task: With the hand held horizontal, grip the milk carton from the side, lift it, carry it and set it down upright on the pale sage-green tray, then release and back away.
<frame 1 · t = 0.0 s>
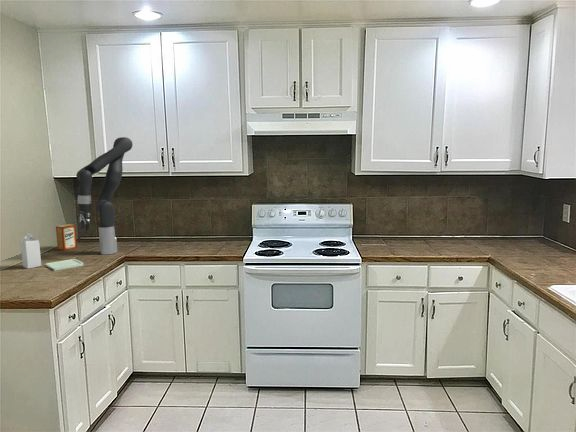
hand: (84, 229, 272), 17 cm above the worktop, tool pointing down, fingers open, 8 cm apart
baking soda box: (67, 248, 299), on the worktop
tray: (64, 265, 254), on the worktop
milk carton: (32, 267, 252), on the worktop
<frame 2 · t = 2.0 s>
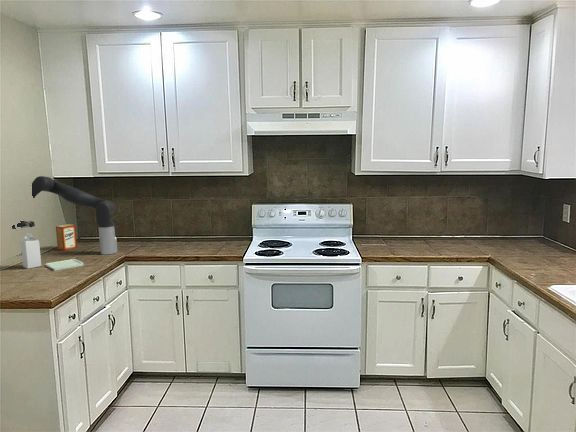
hand: (23, 226, 257), 22 cm above the worktop, tool horizontal, fingers open, 8 cm apart
nothing on the worktop moved.
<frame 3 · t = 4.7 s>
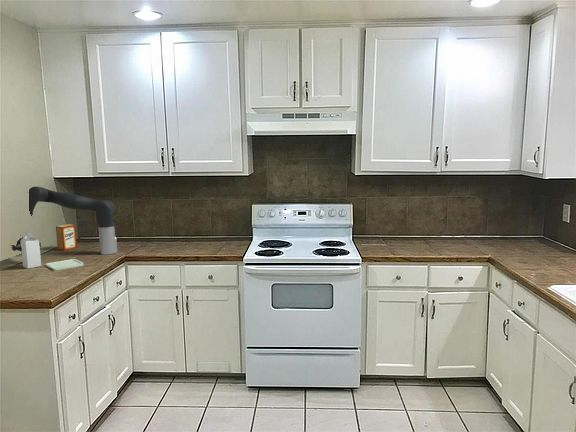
hand: (29, 248, 252), 10 cm above the worktop, tool horizontal, fingers open, 8 cm apart
milk carton: (32, 267, 252), on the worktop, touching gripper
everything else where it was.
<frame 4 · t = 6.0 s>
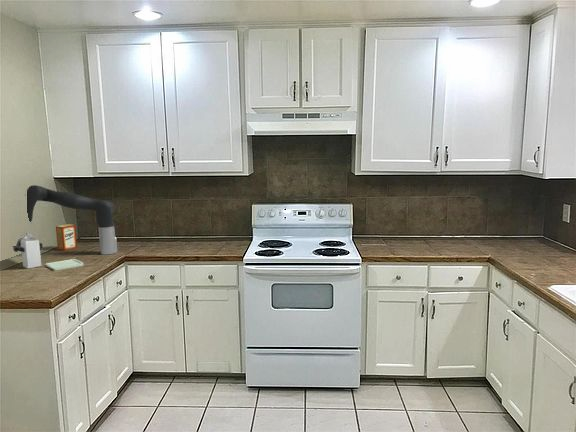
hand: (31, 249, 250), 11 cm above the worktop, tool horizontal, fingers closed on milk carton, 8 cm apart
milk carton: (32, 266, 253), on the worktop, touching gripper
everything else where it was.
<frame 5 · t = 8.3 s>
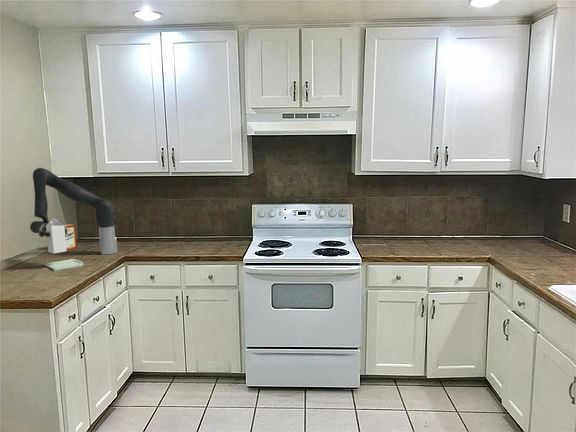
hand: (57, 234, 250), 19 cm above the worktop, tool horizontal, fingers closed on milk carton, 8 cm apart
milk carton: (57, 252, 253), point 8 cm above the worktop, touching gripper
everything else where it was.
when the fingers open (12 cm above the worktop, at t = 10.8 s): milk carton drops 1 cm, resting on tray.
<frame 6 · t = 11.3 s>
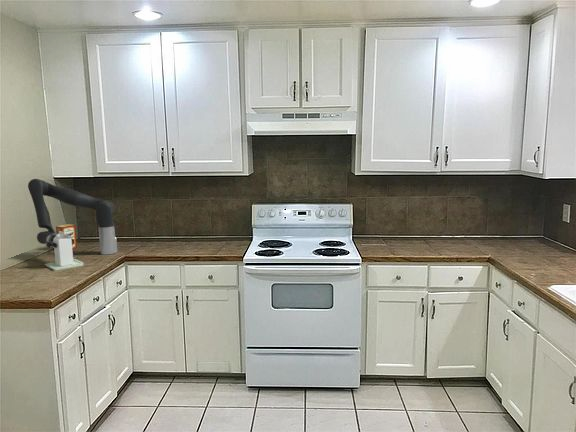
hand: (64, 244, 251), 12 cm above the worktop, tool horizontal, fingers open, 8 cm apart
milk carton: (64, 264, 254), resting on tray
everything else where it was.
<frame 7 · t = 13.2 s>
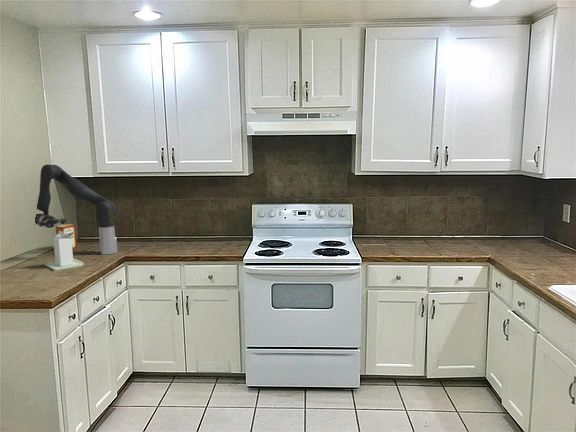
hand: (55, 223, 262), 23 cm above the worktop, tool horizontal, fingers open, 8 cm apart
nothing on the worktop moved.
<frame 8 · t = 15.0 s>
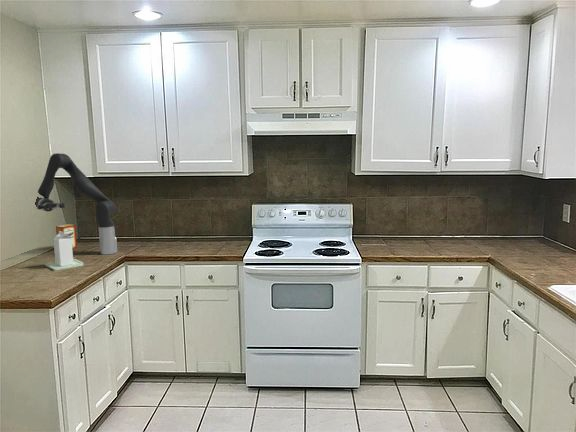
hand: (54, 207, 263), 32 cm above the worktop, tool horizontal, fingers open, 8 cm apart
nothing on the worktop moved.
at the end: milk carton inside the target area on the tray (0.2 cm from its centre), point 0.4 cm above the tray's base; milk carton tilted 0°; the gripper is holding nothing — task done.
